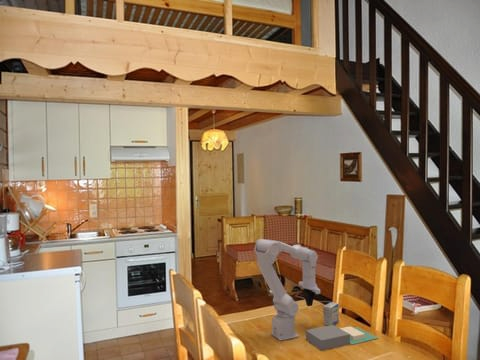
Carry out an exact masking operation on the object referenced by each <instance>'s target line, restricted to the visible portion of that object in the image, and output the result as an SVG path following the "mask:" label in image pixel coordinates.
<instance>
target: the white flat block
mask: <svg viewBox="0 0 480 360" xmlns="http://www.w3.org/2000/svg"><path fill="white" fill-rule="evenodd" d="M339 328H340V329H341V330H343V331H345V332H347V333H349V334H350V339H351V340H352V341H357V340H361V339H365V334H364V333H362V332H360V331H358V330H357V329H355V327H353V326H351V325H350V326H346V327H345V326H344V327H339Z"/></svg>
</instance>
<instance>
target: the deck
mask: <svg viewBox="0 0 480 360" xmlns="http://www.w3.org/2000/svg"><path fill="white" fill-rule="evenodd" d="M340 328H341V327H338V326H336V325H329V326H328V325H324V326H320V327H316V328H311V329H306V330H305V340H306V341H307V342H309V343H310V344H312V346H314V347H315V348H317V349H319V350H320V351H322V352H323V351H326V350H331V349H335V348H339V347H343V346H347V345H351V344H350V334H349V333H347V332H345V331H343V330H341V329H340Z"/></svg>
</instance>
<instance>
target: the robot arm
mask: <svg viewBox="0 0 480 360" xmlns="http://www.w3.org/2000/svg"><path fill="white" fill-rule="evenodd" d="M253 250H254V252H255V255H256V263H257V264H256V265H257V267H258V269H259V271H260V273H261V275H262V276H263V279H264V281H265V282H266V284H267V286H268V288H269V290H270V291H271V294H272V295H273V299H272V302H273V306H274V307H273V308H274V309H275V311H276V314H277V315H275V316H273V317H272V319H271V335H272V336H273V337H274V338H276V339H277V340H279V341H285V340H290V339H294V338H298V337H299V336H300V335H299V334H297V333H296V330H295V328H296V327H295V326H296V323H295V322H296V321H295V320H296V319H295V316H296V315H297V314H298V312H299V304H298V303H297V302H296V301H295V300H294V298H293V297H292V296H291V295H289V294H288V293H287V291H286V289H285V287H284V286H283V284H282V281H281V280H280V278H279V276H278V274H277V271H276V270H275V268H274V266H273V264H274V263H275V262H276V259H277V257H278V256H279V253H282V252H285V253H288V254H290V257H291V258H293V259H296V260H300V261H301V262H302V281H298V287H302V288H303V289H301V292H302V294H303V297H304V300H305V304H306V306H307V307H312V306H313V302H314V299H315V297H316V295H320V294H321V289H320V288H319V287H318V284H317V283H316V266H317V262H318V258H319V255H318V253H317V252H316V251H315V250H313V249H309V247H307V246H302V245H301V244H293V245H289V244H287V243H285V242H283V241H278V240H274V239H273V240H272V239H265V238H259V239H258V240H257V241H256V242H255V246H254V248H253Z"/></svg>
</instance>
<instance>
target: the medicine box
mask: <svg viewBox="0 0 480 360" xmlns="http://www.w3.org/2000/svg"><path fill="white" fill-rule="evenodd" d="M339 308H340V307H339V303H337V302H332V301H330V302H328V303H327V304H325V305H323V307H322V309H323V310H322V312H323V319H322V320H323V325H324V326H329V325H334V326H336V324H337V323H338V322H340V320H339V319H340V315H339V314H340V313H339V312H340V311H339V310H340V309H339Z"/></svg>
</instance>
